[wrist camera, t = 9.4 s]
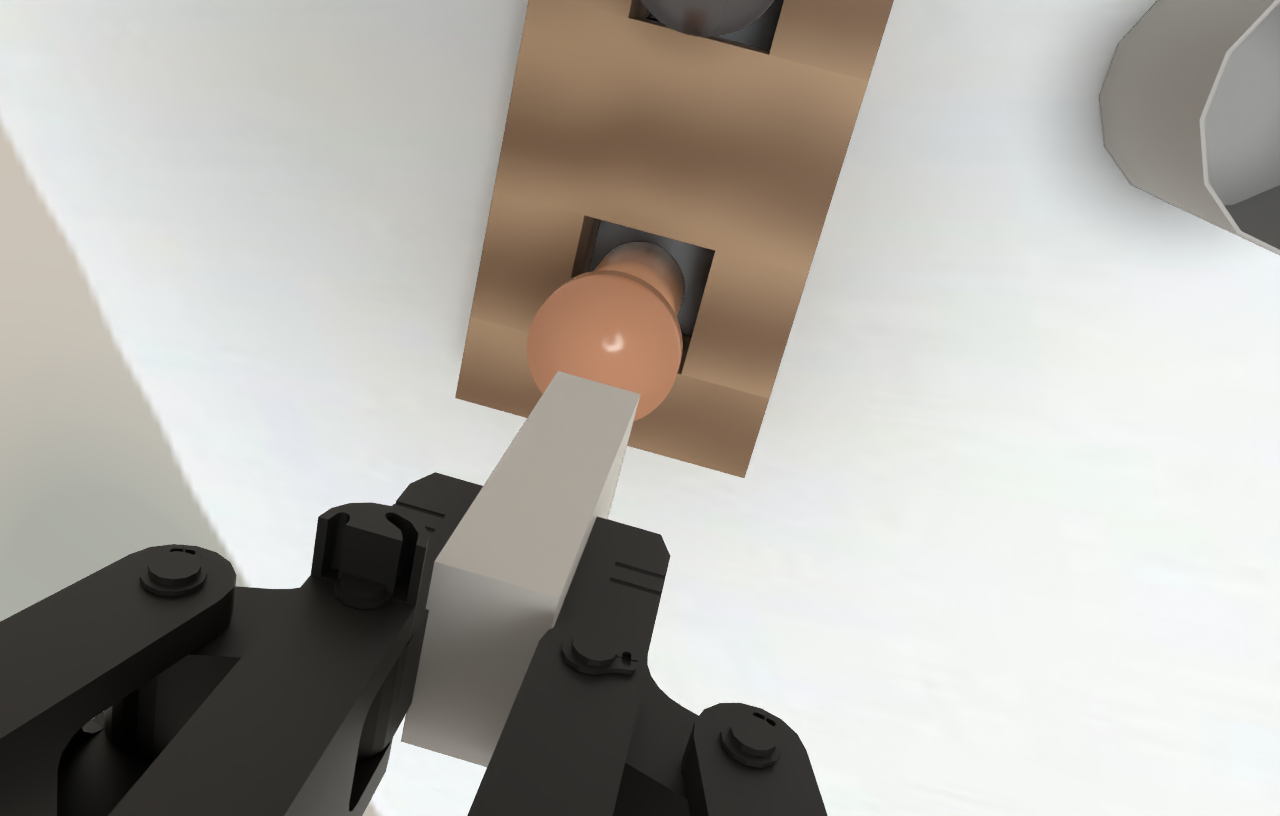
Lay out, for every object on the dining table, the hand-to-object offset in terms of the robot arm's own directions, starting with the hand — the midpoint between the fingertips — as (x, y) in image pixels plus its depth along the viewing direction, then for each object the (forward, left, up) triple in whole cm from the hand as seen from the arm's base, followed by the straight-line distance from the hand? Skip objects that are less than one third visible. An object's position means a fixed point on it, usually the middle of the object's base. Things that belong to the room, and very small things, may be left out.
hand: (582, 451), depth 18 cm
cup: (-9, +18, -26) cm, 33 cm away
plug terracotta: (+3, -1, -22) cm, 22 cm away
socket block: (-3, -1, -26) cm, 26 cm away
